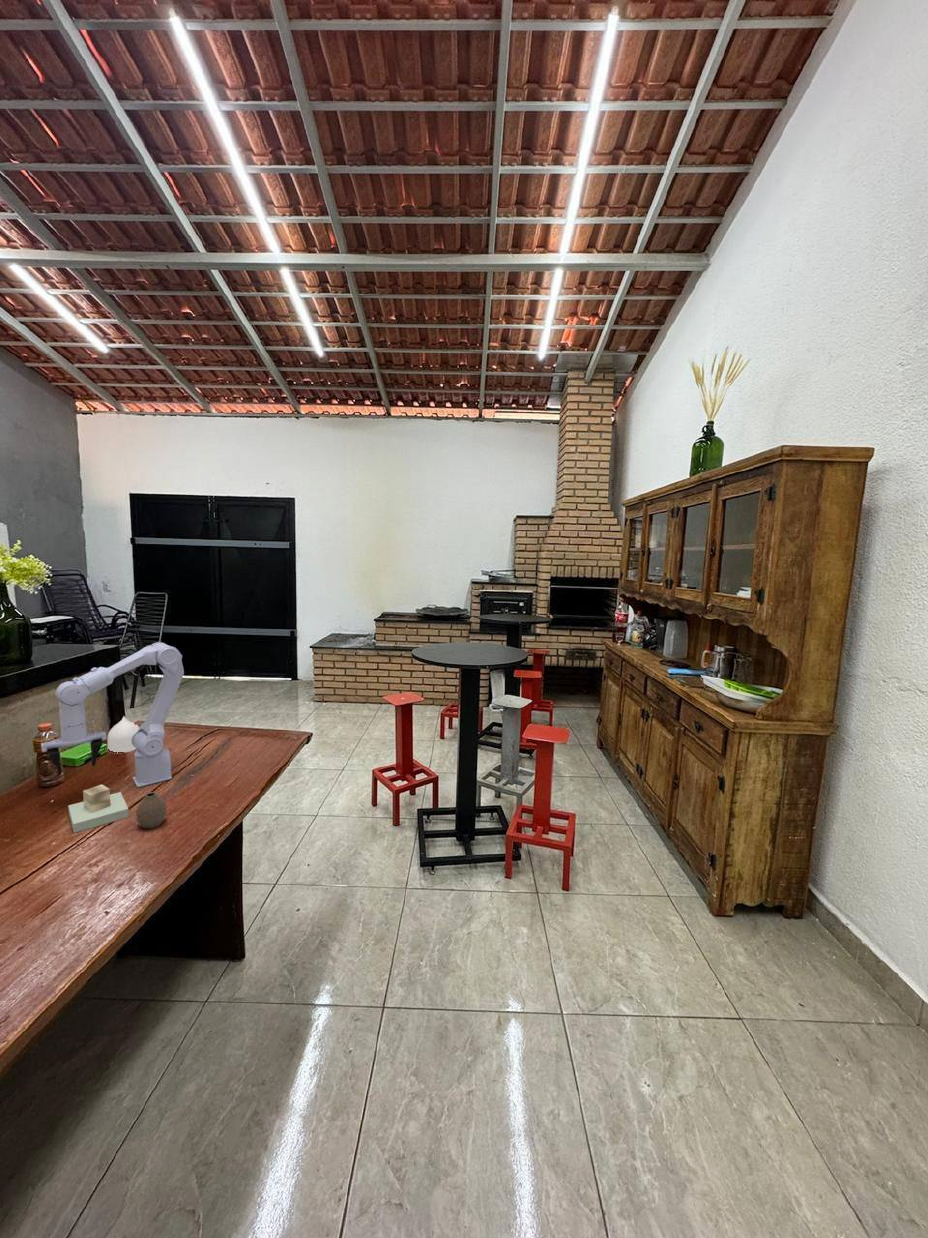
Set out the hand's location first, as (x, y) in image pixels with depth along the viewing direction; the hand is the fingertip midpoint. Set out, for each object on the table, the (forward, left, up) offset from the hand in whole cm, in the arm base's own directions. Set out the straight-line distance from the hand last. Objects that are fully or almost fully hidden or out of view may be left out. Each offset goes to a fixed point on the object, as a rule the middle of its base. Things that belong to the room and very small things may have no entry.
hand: (76, 768), depth 141 cm
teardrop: (-17, -36, -10) cm, 41 cm away
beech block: (-3, +13, -7) cm, 15 cm away
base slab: (-3, +13, -10) cm, 17 cm away
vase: (-13, +27, -10) cm, 32 cm away
